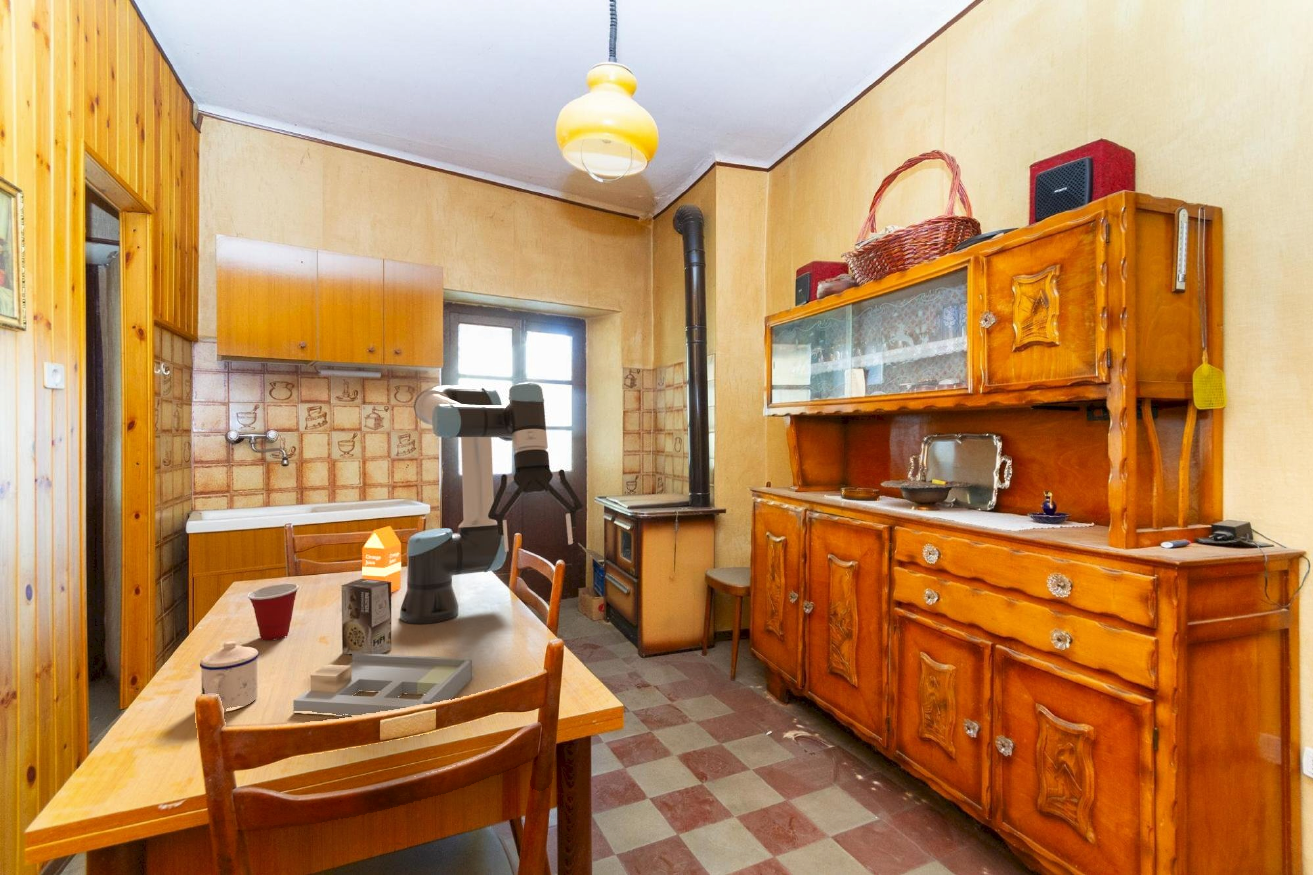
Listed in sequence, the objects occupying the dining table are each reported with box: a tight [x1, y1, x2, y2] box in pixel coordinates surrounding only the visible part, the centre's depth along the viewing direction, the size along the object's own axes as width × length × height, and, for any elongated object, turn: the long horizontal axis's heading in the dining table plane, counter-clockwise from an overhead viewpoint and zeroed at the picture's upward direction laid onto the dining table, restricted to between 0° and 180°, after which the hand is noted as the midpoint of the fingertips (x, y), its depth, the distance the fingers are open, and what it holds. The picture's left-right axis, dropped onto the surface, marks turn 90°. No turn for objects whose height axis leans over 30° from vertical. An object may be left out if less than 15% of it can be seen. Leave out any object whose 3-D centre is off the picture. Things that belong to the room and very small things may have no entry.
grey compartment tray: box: [292, 653, 474, 718], centre depth 118 cm, size 20×26×4 cm
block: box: [310, 664, 352, 692], centre depth 116 cm, size 5×5×3 cm
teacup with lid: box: [199, 640, 260, 714], centre depth 112 cm, size 12×9×12 cm
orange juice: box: [361, 525, 402, 593], centre depth 190 cm, size 8×9×20 cm
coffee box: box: [341, 578, 392, 656], centre depth 140 cm, size 9×6×16 cm
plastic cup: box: [246, 582, 299, 641], centre depth 149 cm, size 11×11×12 cm
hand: (539, 547), depth 130 cm, fingers open, 13 cm apart
